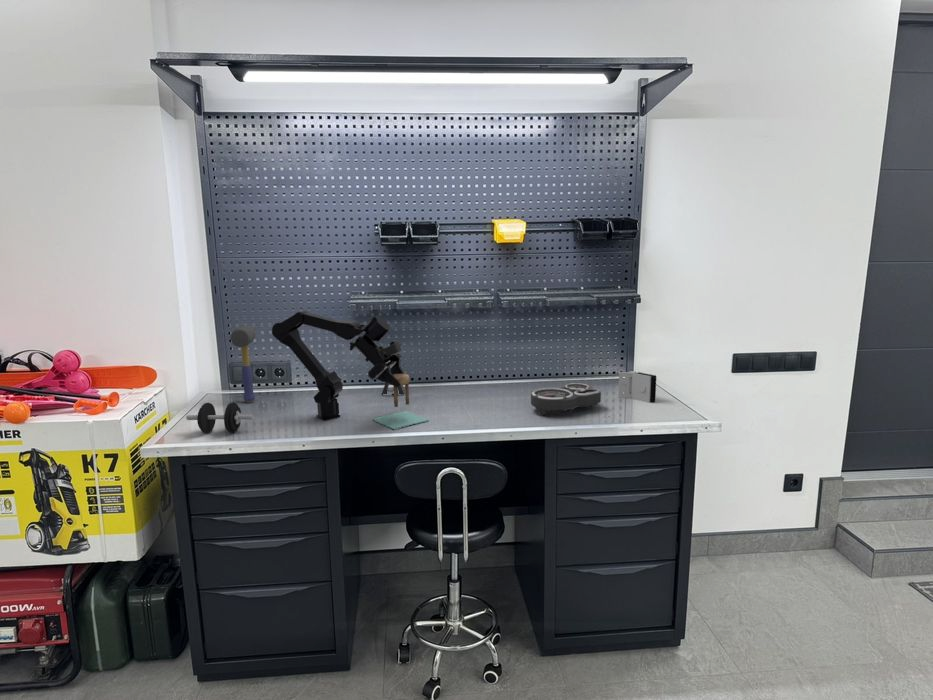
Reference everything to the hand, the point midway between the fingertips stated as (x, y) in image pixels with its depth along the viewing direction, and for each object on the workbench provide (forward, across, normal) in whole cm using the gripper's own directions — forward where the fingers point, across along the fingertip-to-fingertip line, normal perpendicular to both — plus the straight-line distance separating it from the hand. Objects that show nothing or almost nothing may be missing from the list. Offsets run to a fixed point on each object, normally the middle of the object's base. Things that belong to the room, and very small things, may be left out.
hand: (402, 383), depth 192 cm
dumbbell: (-30, -21, +49) cm, 61 cm away
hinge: (+65, +40, -47) cm, 90 cm away
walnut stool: (+4, 0, +6) cm, 8 cm away
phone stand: (-2, +34, +21) cm, 40 cm away
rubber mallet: (-38, +13, +58) cm, 71 cm away
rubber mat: (+8, 0, +10) cm, 13 cm away
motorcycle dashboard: (+47, +22, -28) cm, 59 cm away
